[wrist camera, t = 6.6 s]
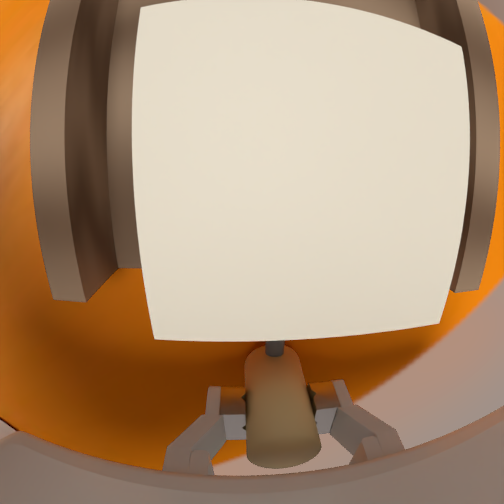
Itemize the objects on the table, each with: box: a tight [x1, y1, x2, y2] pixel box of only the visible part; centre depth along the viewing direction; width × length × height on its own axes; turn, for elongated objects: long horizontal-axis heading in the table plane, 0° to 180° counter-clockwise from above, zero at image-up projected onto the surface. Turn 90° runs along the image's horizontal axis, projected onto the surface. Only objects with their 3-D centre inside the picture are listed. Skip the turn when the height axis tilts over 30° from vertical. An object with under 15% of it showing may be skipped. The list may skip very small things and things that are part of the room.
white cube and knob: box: [132, 0, 470, 469], centre depth 8 cm, size 13×6×6 cm, turn 0°
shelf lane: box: [30, 0, 500, 302], centre depth 7 cm, size 18×16×4 cm
